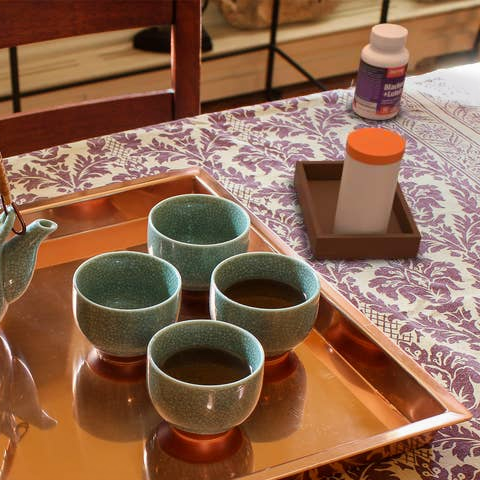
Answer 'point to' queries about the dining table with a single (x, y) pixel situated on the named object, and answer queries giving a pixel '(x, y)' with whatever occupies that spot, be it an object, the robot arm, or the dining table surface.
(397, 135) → the orange-capped white bottle
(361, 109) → the pill bottle
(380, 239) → the tray
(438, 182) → the dining table surface
